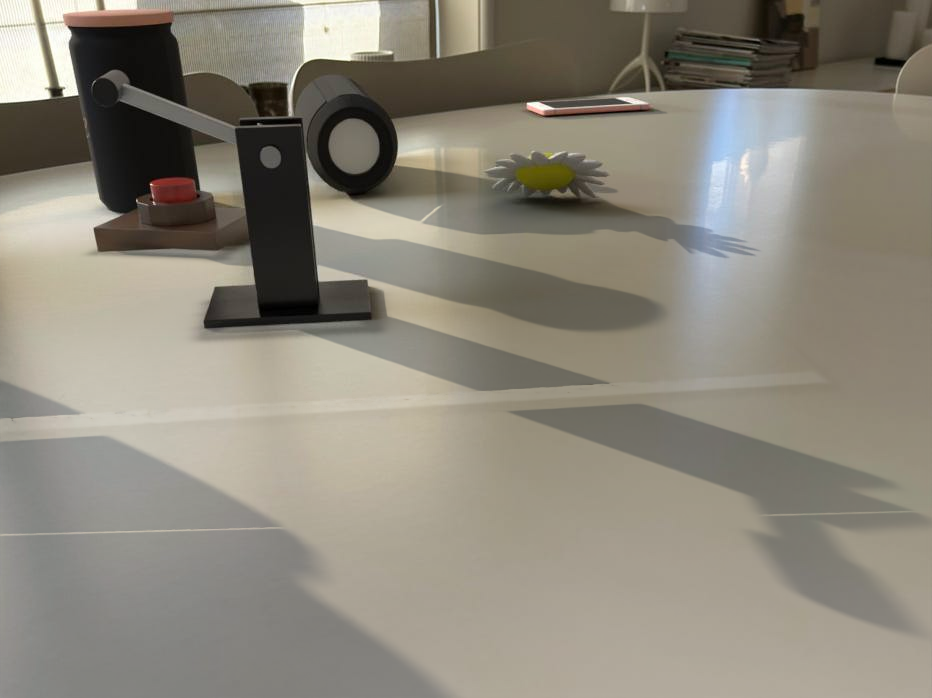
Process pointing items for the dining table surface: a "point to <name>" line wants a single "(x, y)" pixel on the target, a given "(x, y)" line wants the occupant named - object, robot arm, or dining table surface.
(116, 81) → the lever
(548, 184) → the decorative flower
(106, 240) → the button box
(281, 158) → the bracket
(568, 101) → the cell phone
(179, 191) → the button
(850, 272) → the dining table surface
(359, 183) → the portable speaker
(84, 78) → the coffee jar
